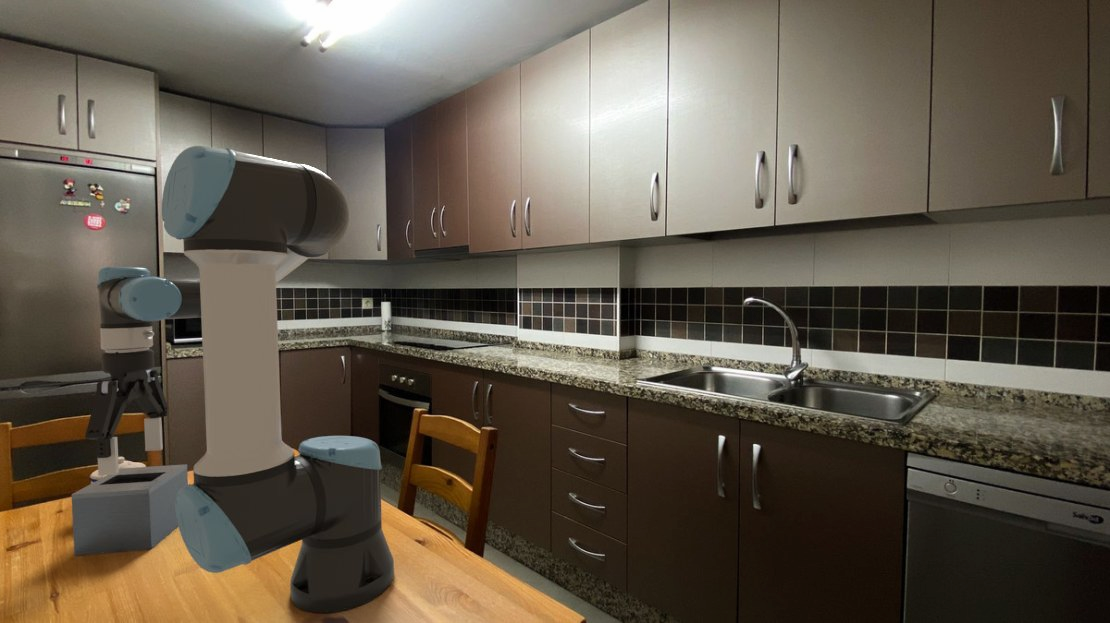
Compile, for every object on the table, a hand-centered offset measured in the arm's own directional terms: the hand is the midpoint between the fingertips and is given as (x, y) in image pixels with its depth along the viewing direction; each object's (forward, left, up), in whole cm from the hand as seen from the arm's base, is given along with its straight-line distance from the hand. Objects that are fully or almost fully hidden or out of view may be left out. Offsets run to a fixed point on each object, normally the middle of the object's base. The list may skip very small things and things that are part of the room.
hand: (133, 461), depth 96 cm
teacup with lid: (+12, +10, -14) cm, 22 cm away
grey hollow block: (0, 0, -14) cm, 14 cm away
